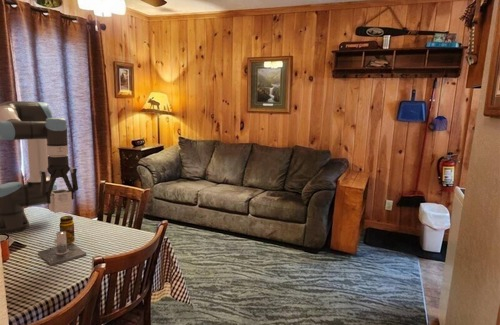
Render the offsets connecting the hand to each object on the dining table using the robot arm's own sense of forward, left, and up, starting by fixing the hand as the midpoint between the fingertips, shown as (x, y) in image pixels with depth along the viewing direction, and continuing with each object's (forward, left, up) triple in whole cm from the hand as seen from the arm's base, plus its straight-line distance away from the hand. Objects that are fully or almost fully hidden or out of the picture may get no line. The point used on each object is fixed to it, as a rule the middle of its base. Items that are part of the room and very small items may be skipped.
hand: (60, 208), depth 141 cm
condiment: (-14, +6, -21) cm, 26 cm away
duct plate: (0, 0, -21) cm, 21 cm away
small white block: (0, 0, 0) cm, 0 cm away
